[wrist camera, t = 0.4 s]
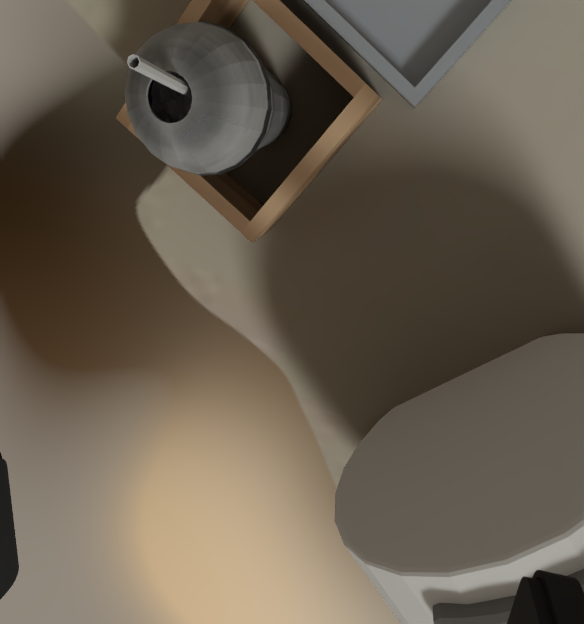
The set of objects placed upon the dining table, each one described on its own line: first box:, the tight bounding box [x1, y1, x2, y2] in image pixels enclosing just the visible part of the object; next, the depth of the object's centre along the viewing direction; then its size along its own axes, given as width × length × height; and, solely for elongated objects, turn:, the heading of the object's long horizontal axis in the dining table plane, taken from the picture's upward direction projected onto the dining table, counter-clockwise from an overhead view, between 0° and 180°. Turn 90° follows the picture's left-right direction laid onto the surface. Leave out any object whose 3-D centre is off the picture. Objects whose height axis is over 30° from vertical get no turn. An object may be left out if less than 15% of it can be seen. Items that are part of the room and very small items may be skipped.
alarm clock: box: [335, 333, 584, 624], centre depth 32 cm, size 21×8×20 cm, turn 125°
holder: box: [116, 0, 382, 242], centre depth 35 cm, size 12×12×5 cm
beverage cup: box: [125, 21, 292, 176], centre depth 28 cm, size 7×7×20 cm
